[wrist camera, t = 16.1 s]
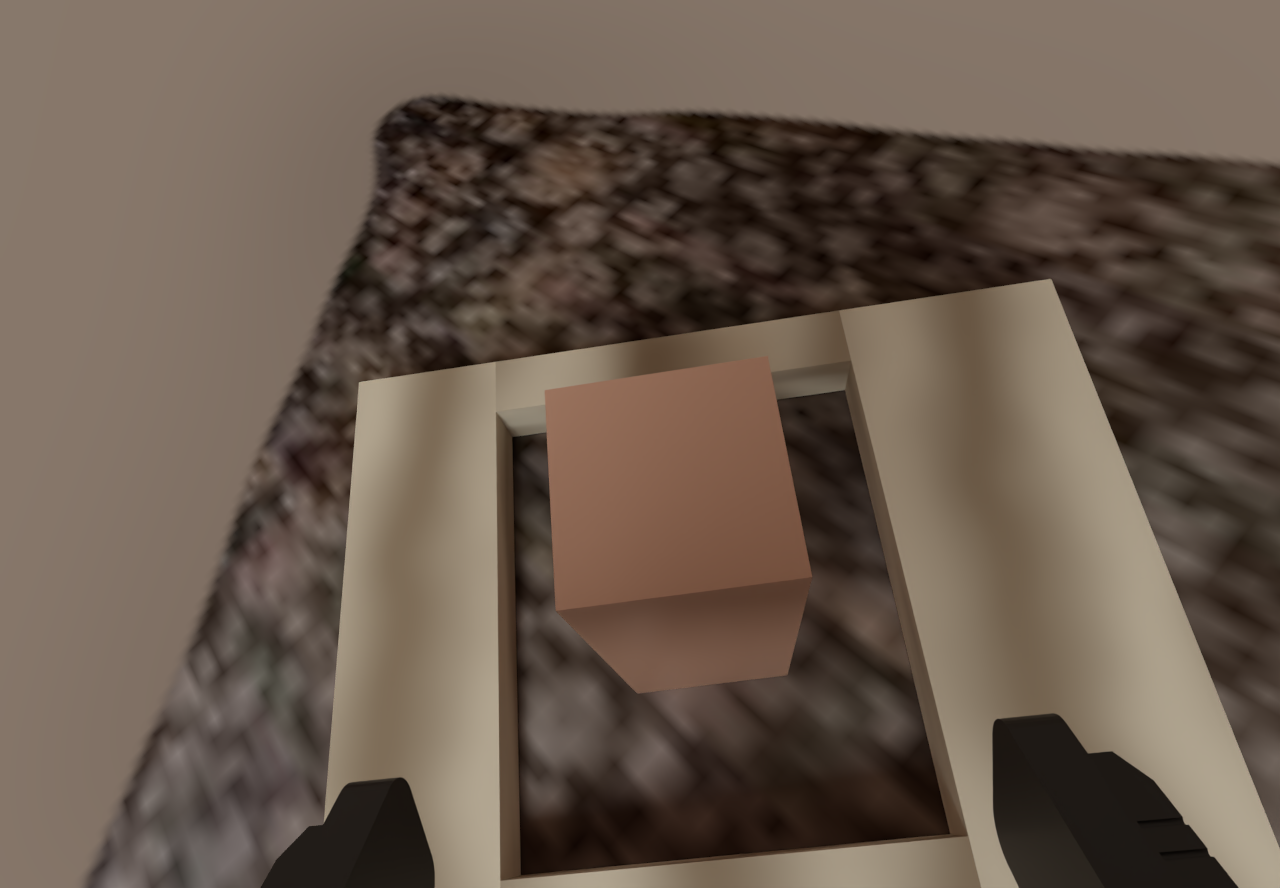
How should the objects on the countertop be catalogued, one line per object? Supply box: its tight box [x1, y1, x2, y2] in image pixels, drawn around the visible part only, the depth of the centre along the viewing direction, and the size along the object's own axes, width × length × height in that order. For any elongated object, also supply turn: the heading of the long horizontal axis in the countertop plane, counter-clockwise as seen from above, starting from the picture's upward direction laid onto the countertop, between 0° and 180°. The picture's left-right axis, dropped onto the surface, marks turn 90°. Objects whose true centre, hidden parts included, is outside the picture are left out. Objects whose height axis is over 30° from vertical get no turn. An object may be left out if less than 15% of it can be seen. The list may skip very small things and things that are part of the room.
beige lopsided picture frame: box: [324, 279, 1280, 888], centre depth 24 cm, size 24×18×2 cm
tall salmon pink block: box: [545, 356, 812, 694], centre depth 20 cm, size 5×5×11 cm
